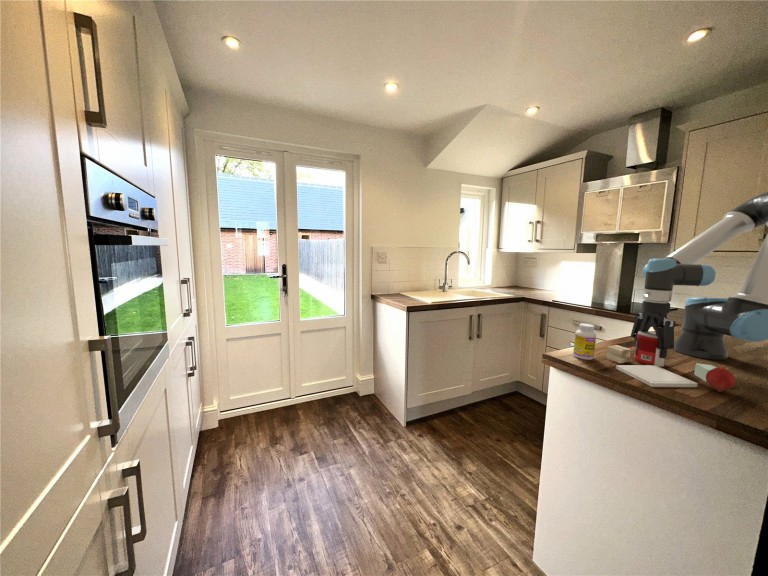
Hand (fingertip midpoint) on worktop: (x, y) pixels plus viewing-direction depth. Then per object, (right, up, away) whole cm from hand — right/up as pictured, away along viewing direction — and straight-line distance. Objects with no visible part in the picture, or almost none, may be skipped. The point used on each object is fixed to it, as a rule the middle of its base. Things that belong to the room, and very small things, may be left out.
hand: (648, 361), depth 110 cm
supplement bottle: (-21, 0, +5) cm, 22 cm away
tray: (-10, -2, -13) cm, 16 cm away
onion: (+1, -4, -22) cm, 23 cm away
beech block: (-10, 0, +2) cm, 10 cm away
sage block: (+7, -2, -14) cm, 16 cm away
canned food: (0, 0, 0) cm, 0 cm away
